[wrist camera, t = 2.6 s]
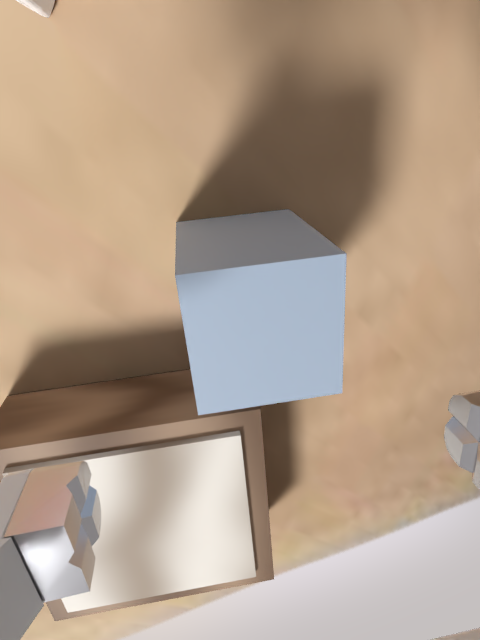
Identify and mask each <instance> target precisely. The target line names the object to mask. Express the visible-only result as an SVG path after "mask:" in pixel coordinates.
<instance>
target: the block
mask: <svg viewBox="0 0 480 640" xmlns="http://www.w3.org/2000/svg"><path fill="white" fill-rule="evenodd" d="M175 278H176V284H177V290H178V296H179V302H180V308H181V314H182V320H183V326H184V332H185V338H186V344H187V350H188V356H189V363H190V369H191V375H192V381H193V387H194V393H195V399H196V405H197V411H198V415H204V414H210V413H217V412H223V411H230V410H236V409H243V408H249V407H256V406H262V405H268V404H275V403H281V402H288V401H294V400H301V399H307V398H314V397H320V396H326V395H333V394H339V393H342V382H343V349H344V316H345V283H346V253H345V252H344V251H342V250H341V249H340V248H339V247H337V246H336V245H335V244H333V243H332V242H331V241H330V240H328V239H327V238H326V237H324V236H323V235H322V234H320V233H319V232H318V231H317V230H315V229H314V228H313V227H311V226H310V225H309V224H308V223H306V222H305V221H304V220H302V219H301V218H300V217H299V216H297V215H296V214H295V213H293V212H292V211H291V210H290V209H285V210H276V211H268V212H259V213H250V214H242V215H233V216H224V217H216V218H207V219H198V220H190V221H181V222H176V258H175Z"/></svg>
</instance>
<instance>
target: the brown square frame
mask: <svg viewBox="0 0 480 640" xmlns="http://www.w3.org/2000/svg"><path fill="white" fill-rule="evenodd" d="M78 461H85V462H87V463H88V466H89V469H90V471H91V474H92V475H91V480H90V484H89V485H90V486H91V487H93V488H94V489H96V490H97V492H98V496H99V499H100V505H101V529H100V536H99V538H98V540H97V541H96V542H95V543H94V545H93V546H92V549H93V552H94V555H95V557H96V560H95V565H94V571H93V577H92V583H91V588H90V592H86V593H81V594H77V595H73V596H69V597H65V598H61V599H56V600H52V601H48V602H46V604H47V606H48V608H49V610H50V612H51V614H52V616H53V618H54V620H55V621H59V620H64V619H69V618H74V617H79V616H85V615H90V614H95V613H100V612H106V611H111V610H116V609H121V608H126V607H132V606H137V605H142V604H147V603H152V602H158V601H163V600H168V599H173V598H179V597H184V596H189V595H194V594H199V593H205V592H210V591H215V590H220V589H225V588H231V587H236V586H241V585H246V584H251V583H257V582H262V581H267V580H272V579H274V573H273V560H272V547H271V535H270V522H269V509H268V497H267V484H266V471H265V459H264V446H263V433H262V421H261V409H260V406H256V407H249V408H243V409H236V410H230V411H223V412H217V413H210V414H204V415H198V411H197V405H196V399H195V393H194V387H193V381H192V375H191V369H188V370H181V371H174V372H168V373H161V374H154V375H147V376H140V377H133V378H126V379H120V380H113V381H106V382H99V383H92V384H85V385H79V386H72V387H65V388H58V389H51V390H44V391H37V392H31V393H24V394H17V395H10V396H7V398H6V399H5V401H4V402H3V404H2V406H1V407H0V482H1V480H2V479H3V477H4V476H6V475H7V474H8V473H10V472H17V471H23V470H30V469H34V468H39V467H46V466H52V465H59V464H65V463H72V462H78Z"/></svg>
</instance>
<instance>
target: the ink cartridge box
mask: <svg viewBox="0 0 480 640" xmlns="http://www.w3.org/2000/svg"><path fill="white" fill-rule="evenodd" d="M16 1H18V2H19V3H21V4H23V5H24V6H26V7H28V8H30V9H31V10H33V11H35V12H36V13H38V14H40V15H42V16H44V17H50V15H51V12H52V10H53V7H54V3H55V0H16Z"/></svg>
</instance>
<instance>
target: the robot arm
mask: <svg viewBox="0 0 480 640" xmlns="http://www.w3.org/2000/svg"><path fill="white" fill-rule="evenodd" d="M448 411H449V412H450V413H451V414H452V416H453V417H452V418H451V419H450V421H449V422H448V423H447V424H446V425H445V434H444V439H445V443H446V447H447V450H448V452H449V453H450V455H451V457H452V459H453V460H454V461H455V462H456V463H457V464H458V466H459V467H461V468H463V469H465V470H468V471H470V472H472V481H473V483H474V484H475V485H476V486H477V488H478V489H479V490H480V390H478V391H473V392H468V393H462V394H457V395H453V397H452V398H451V400H450V402H449V407H448ZM91 475H92V474H91V471H90V469H89V466H88V463H87V462H85V461H78V462H72V463H65V464H59V465H52V466H46V467H39V468H34V469H30V470H23V471H17V472H10V473H8V474H7V475H6V476H4V477H3V479H2V480H1V482H0V640H20V639H21V637H22V636H23V635H24V633H25V632H26V630H27V629H28V627H29V626H30V625H31V623H32V622H33V620H34V619H35V617H36V616H37V614H38V613H39V612H40V610H41V609H42V607H43V606H44V604H43V603H44V602H48V601H52V600H56V599H61V598H65V597H69V596H73V595H77V594H81V593H86V592H90V588H91V583H92V577H93V571H94V565H95V560H96V557H95V555H94V552H93V549H92V546H93V545H94V543H95V542H96V541H97V540H98V538H99V536H100V529H101V505H100V499H99V496H98V492H97V490H96V489H94V488H93V487H91V486H90V485H89V484H90V480H91ZM431 640H480V628H476V629H472V630H468V631H464V632H460V633H456V634H452V635H448V636H444V637H439V638H435V639H431Z"/></svg>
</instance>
